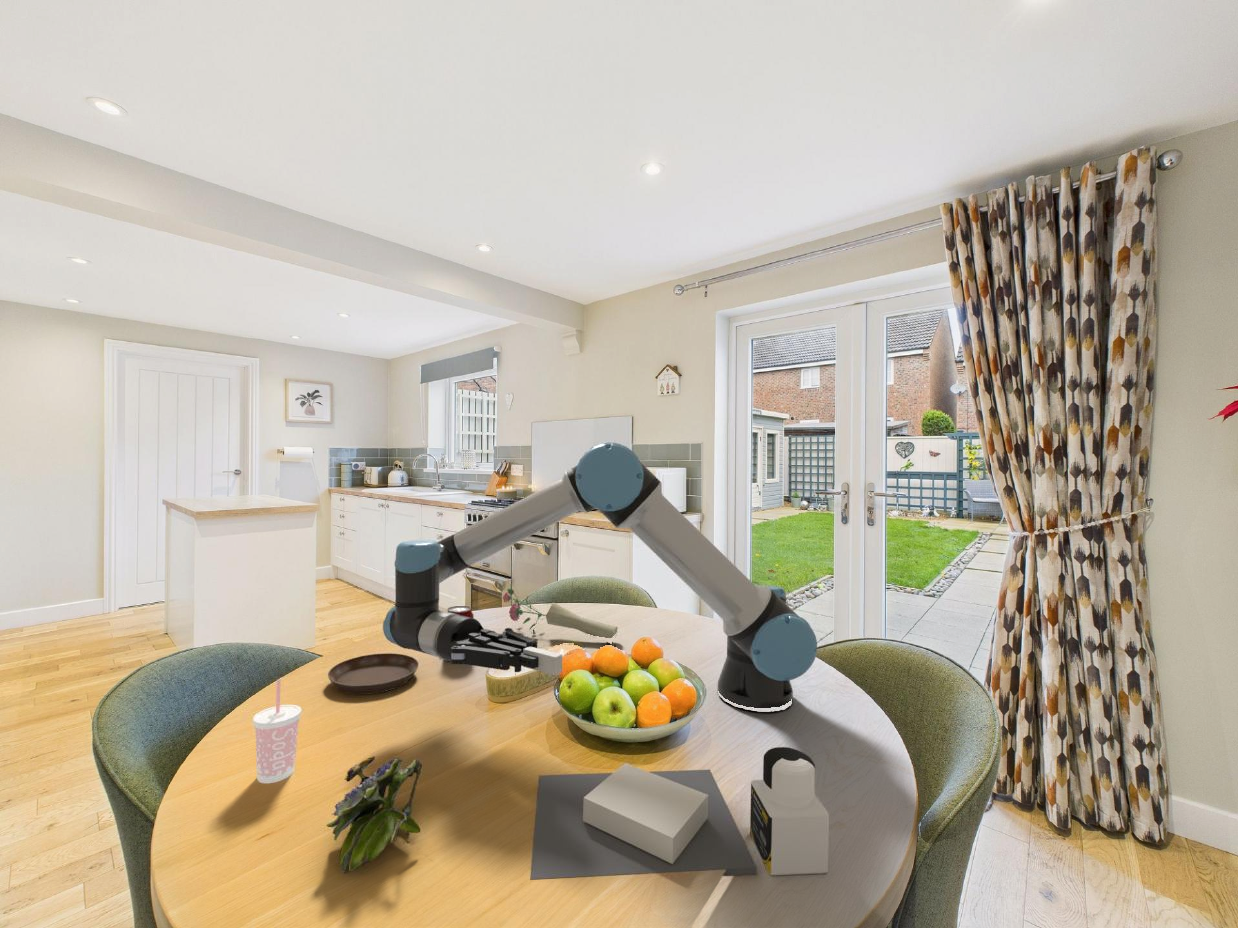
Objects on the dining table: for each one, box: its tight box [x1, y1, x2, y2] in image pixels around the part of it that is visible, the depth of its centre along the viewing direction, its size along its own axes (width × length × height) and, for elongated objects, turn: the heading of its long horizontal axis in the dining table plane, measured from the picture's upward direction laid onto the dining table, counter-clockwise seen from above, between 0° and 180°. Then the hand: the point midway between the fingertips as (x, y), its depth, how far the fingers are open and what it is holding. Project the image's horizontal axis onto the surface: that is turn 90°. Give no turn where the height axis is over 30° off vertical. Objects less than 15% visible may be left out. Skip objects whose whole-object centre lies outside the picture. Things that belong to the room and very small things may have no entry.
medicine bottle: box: [749, 746, 830, 876], centre depth 65 cm, size 7×7×12 cm
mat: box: [529, 769, 758, 881], centre depth 70 cm, size 26×20×1 cm
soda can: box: [447, 604, 475, 619], centre depth 128 cm, size 7×7×12 cm
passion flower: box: [326, 756, 423, 874], centre depth 66 cm, size 11×11×12 cm
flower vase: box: [502, 583, 618, 638], centre depth 147 cm, size 12×12×35 cm
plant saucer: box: [327, 652, 420, 695], centre depth 114 cm, size 18×18×3 cm
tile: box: [583, 762, 708, 864], centre depth 69 cm, size 3×10×13 cm
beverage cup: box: [252, 678, 303, 784], centre depth 79 cm, size 6×6×14 cm
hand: (558, 664), depth 78 cm, fingers closed
